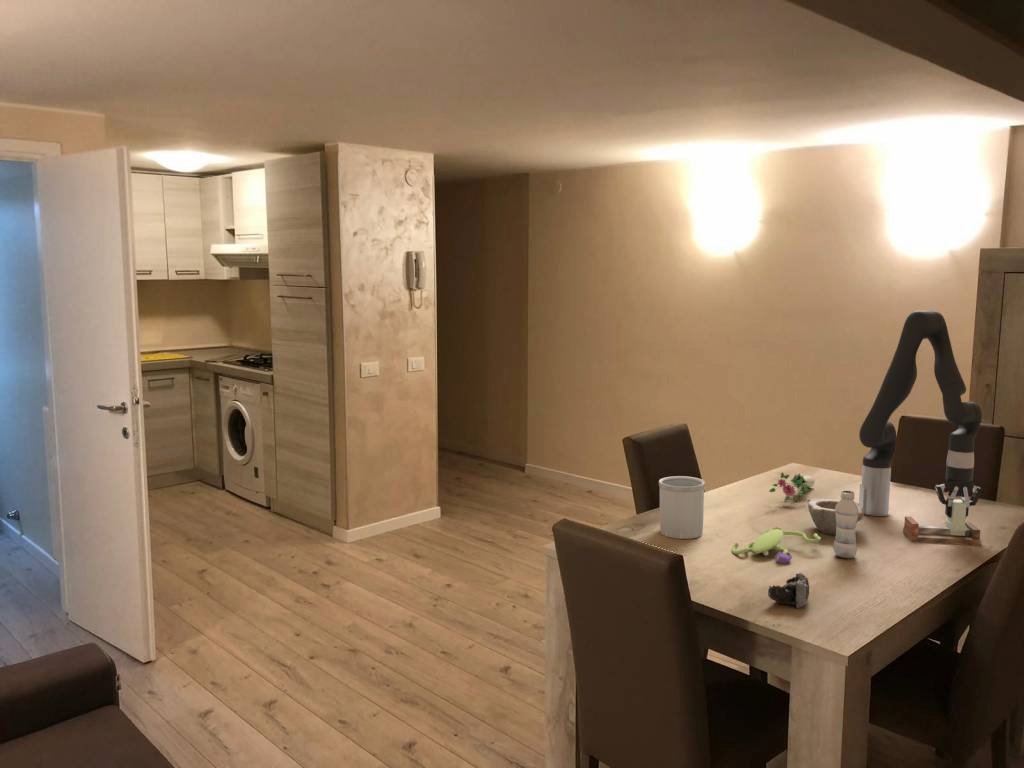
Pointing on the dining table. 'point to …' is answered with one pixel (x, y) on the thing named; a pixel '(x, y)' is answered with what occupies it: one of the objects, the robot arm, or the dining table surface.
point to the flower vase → (797, 481)
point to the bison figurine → (791, 591)
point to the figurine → (773, 544)
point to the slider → (957, 518)
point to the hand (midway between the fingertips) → (956, 517)
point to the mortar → (827, 514)
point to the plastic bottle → (846, 526)
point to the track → (949, 537)
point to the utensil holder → (681, 507)
